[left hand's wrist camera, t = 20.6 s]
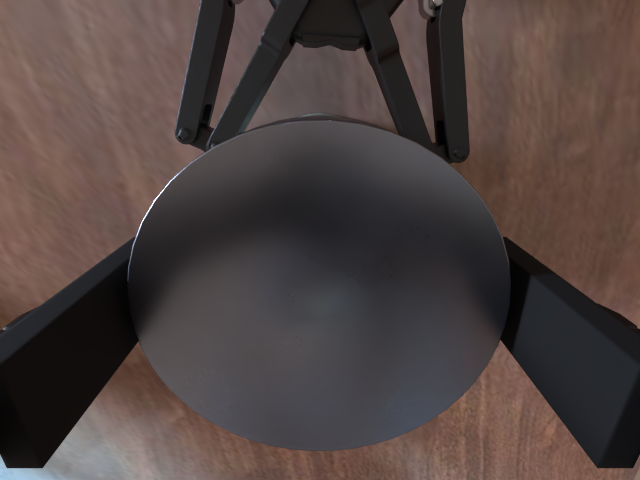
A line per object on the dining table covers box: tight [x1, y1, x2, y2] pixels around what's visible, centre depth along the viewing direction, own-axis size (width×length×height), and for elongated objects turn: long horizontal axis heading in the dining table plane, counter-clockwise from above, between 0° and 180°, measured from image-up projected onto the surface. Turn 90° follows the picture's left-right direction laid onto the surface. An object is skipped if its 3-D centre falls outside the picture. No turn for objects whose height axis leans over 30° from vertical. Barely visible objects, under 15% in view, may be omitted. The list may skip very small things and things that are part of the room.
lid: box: [127, 116, 511, 451], centre depth 11 cm, size 11×11×2 cm
